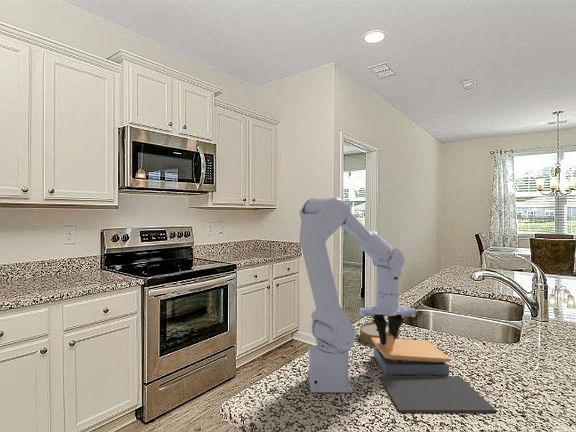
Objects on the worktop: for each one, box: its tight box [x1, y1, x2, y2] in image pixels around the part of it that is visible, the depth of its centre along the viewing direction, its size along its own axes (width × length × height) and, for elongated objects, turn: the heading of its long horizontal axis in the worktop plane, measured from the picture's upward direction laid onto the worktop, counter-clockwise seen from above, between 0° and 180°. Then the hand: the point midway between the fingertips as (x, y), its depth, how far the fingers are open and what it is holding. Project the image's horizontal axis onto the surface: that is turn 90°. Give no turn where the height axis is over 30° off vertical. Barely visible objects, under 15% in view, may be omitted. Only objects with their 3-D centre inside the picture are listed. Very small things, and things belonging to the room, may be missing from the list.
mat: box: [378, 375, 497, 414], centre depth 75 cm, size 20×14×1 cm
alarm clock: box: [358, 319, 401, 346], centre depth 109 cm, size 11×5×15 cm
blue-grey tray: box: [373, 346, 450, 376], centre depth 89 cm, size 16×11×2 cm
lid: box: [371, 330, 451, 363], centre depth 89 cm, size 17×12×5 cm
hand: (386, 343), depth 89 cm, fingers closed on lid
